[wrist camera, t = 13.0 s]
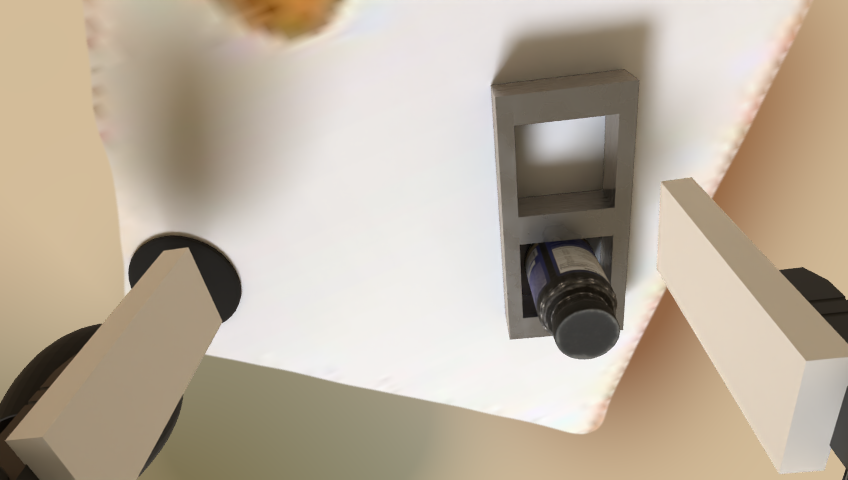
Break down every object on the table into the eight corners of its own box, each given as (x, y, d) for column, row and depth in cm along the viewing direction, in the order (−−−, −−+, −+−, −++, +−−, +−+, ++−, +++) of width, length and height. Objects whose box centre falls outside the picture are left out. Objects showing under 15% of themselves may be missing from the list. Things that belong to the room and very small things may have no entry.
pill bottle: (550, 296, 51) (577, 380, 42) (509, 256, 49) (526, 334, 40) (605, 258, 49) (647, 337, 39) (564, 213, 47) (597, 285, 37)
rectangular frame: (490, 85, 42) (495, 97, 39) (624, 69, 41) (639, 80, 38) (505, 315, 52) (509, 339, 49) (611, 306, 52) (622, 329, 49)
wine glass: (254, 260, 50) (157, 435, 32) (226, 341, 55) (128, 531, 37) (140, 217, 48) (-29, 379, 31) (121, 305, 53) (-35, 488, 35)
